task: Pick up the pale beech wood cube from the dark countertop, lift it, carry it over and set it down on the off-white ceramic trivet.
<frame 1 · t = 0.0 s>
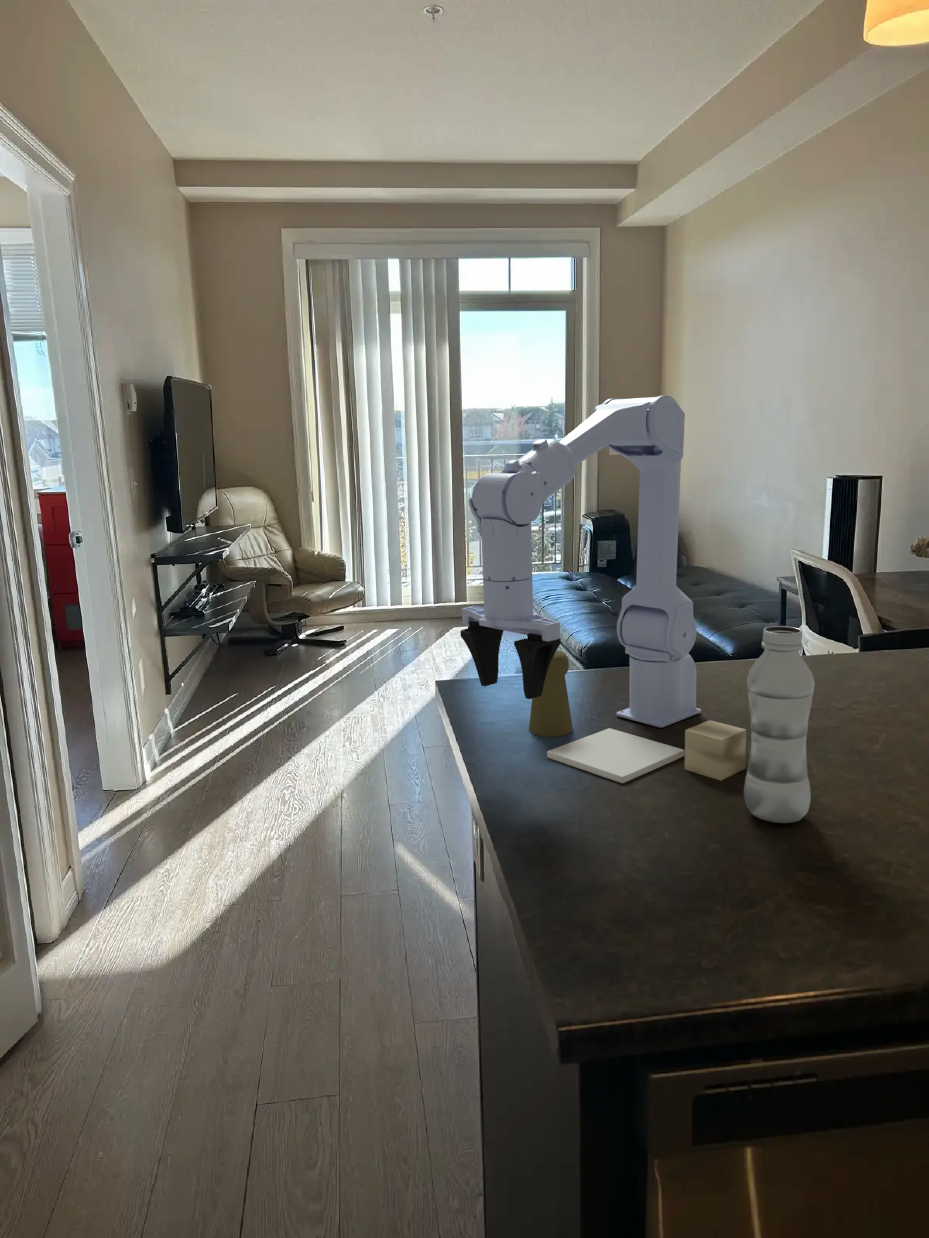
hand: (510, 690, 106), 10 cm above the counter, tool pointing down, fingers open, 7 cm apart
cube: (714, 769, 106), on the counter
cork: (550, 730, 122), on the counter
trivet: (615, 756, 111), on the counter
plastic bottle: (775, 818, 93), on the counter
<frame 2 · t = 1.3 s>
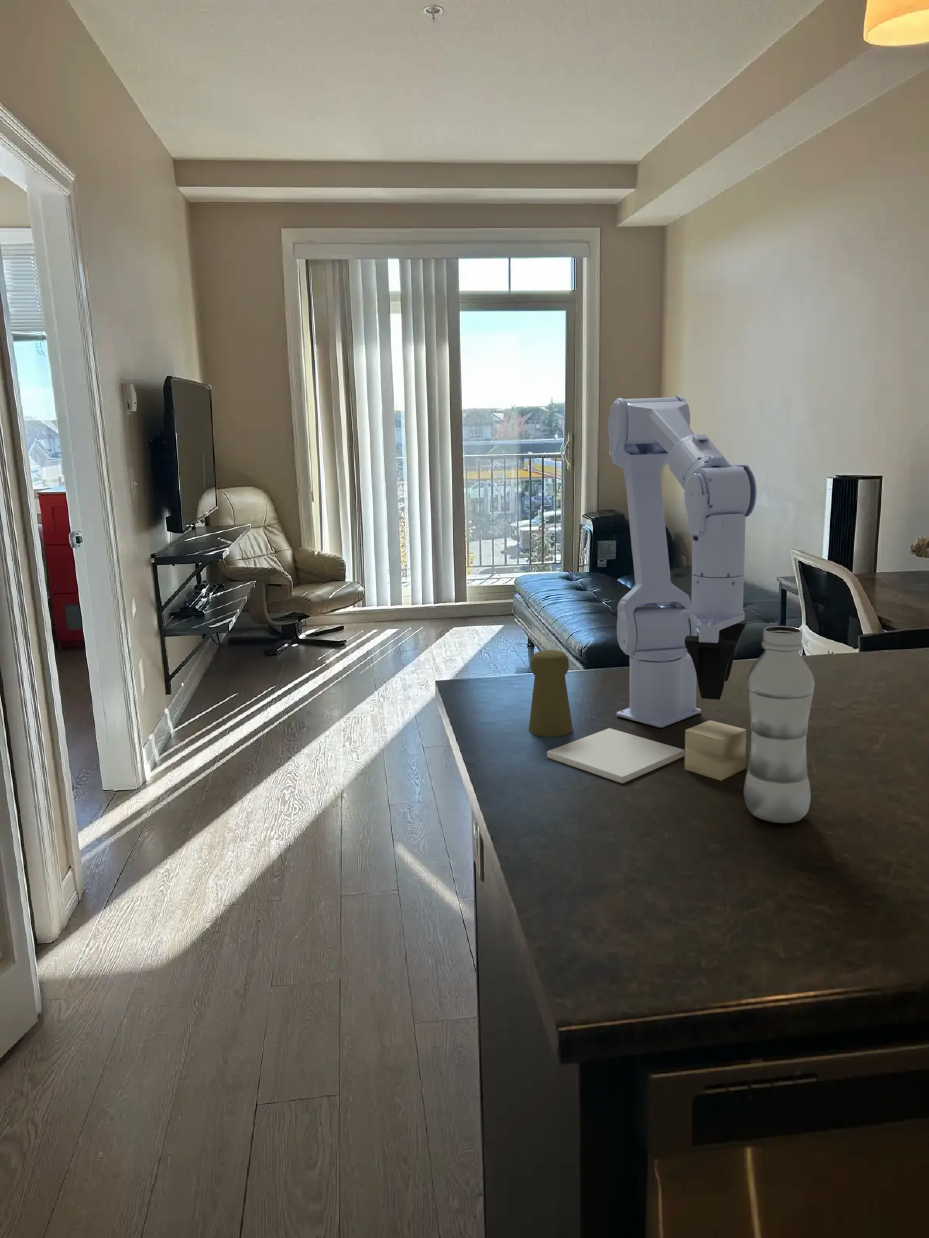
hand: (715, 688, 104), 10 cm above the counter, tool pointing down, fingers open, 7 cm apart
nothing on the counter moved.
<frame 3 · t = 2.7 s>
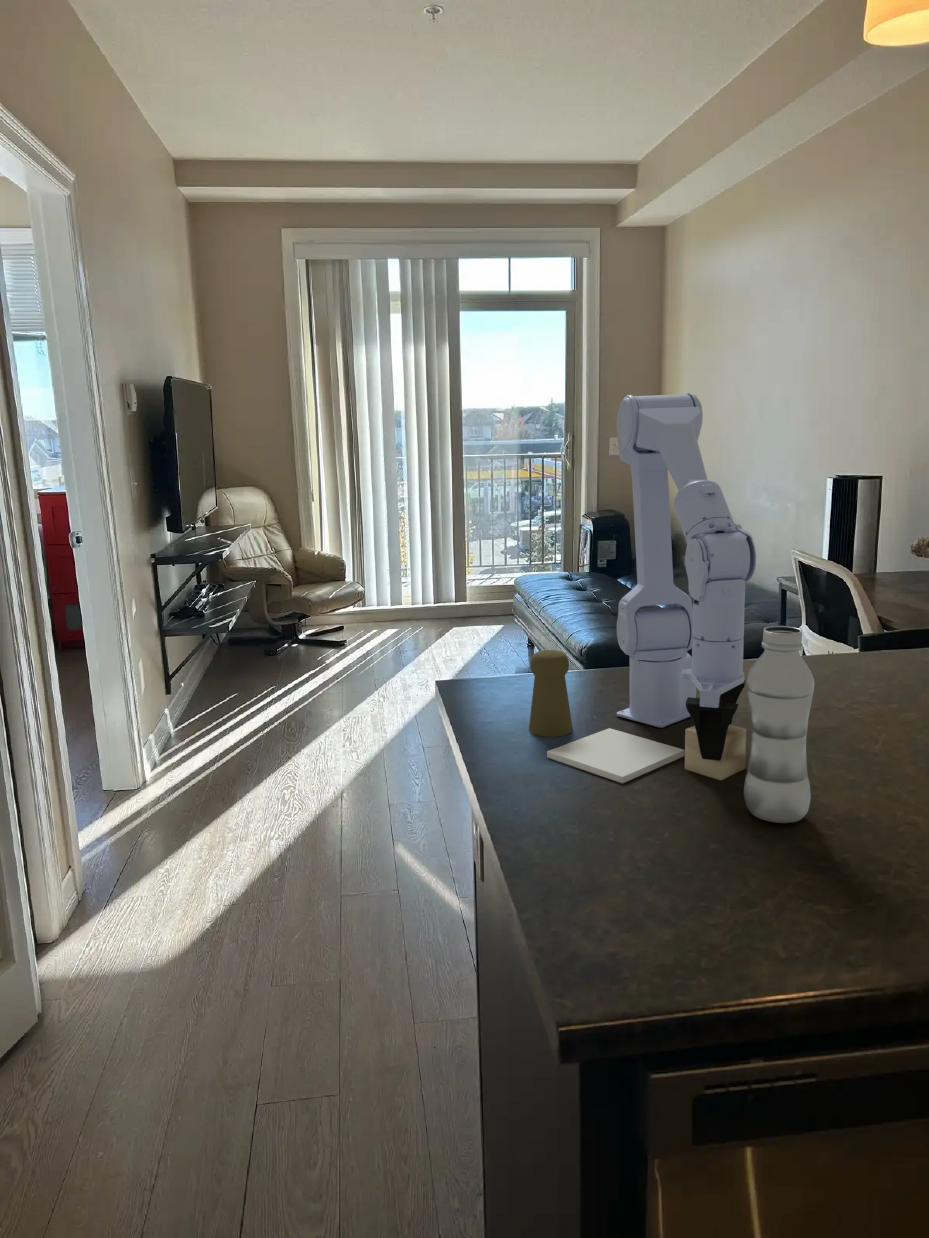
hand: (715, 747, 105), 3 cm above the counter, tool pointing down, fingers closed on cube, 7 cm apart
cube: (714, 768, 106), on the counter, touching gripper
everything else where it was.
when the fingers open (10 cm above the counter, at t = 4.6 s): cube drops 6 cm, resting on trivet.
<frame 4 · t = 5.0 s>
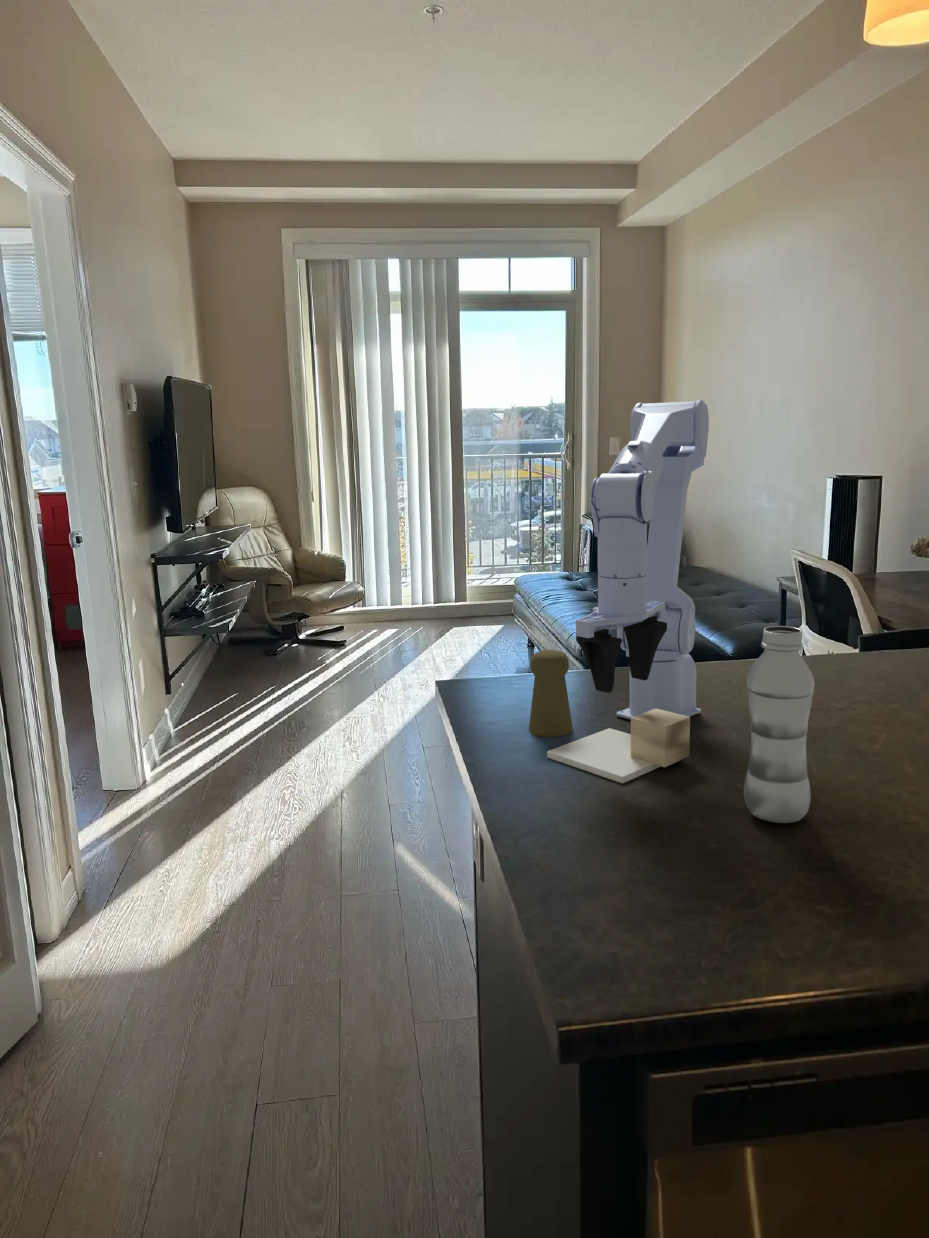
hand: (622, 684, 109), 9 cm above the counter, tool pointing down, fingers open, 6 cm apart
cube: (659, 756, 108), point 1 cm above the counter, touching trivet
everything else where it was.
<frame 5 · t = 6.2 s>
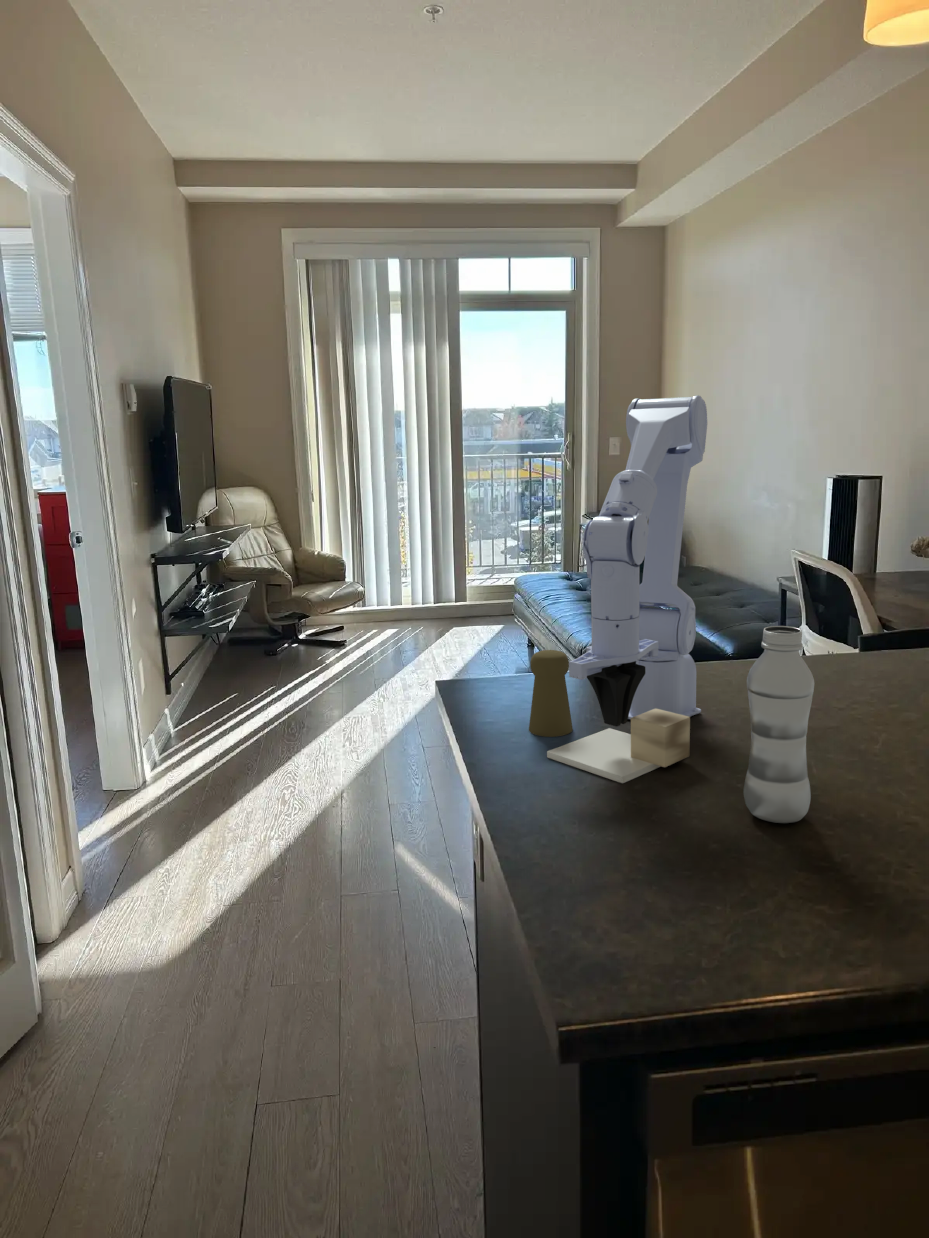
hand: (615, 723, 110), 4 cm above the counter, tool pointing down, fingers closed
nothing on the counter moved.
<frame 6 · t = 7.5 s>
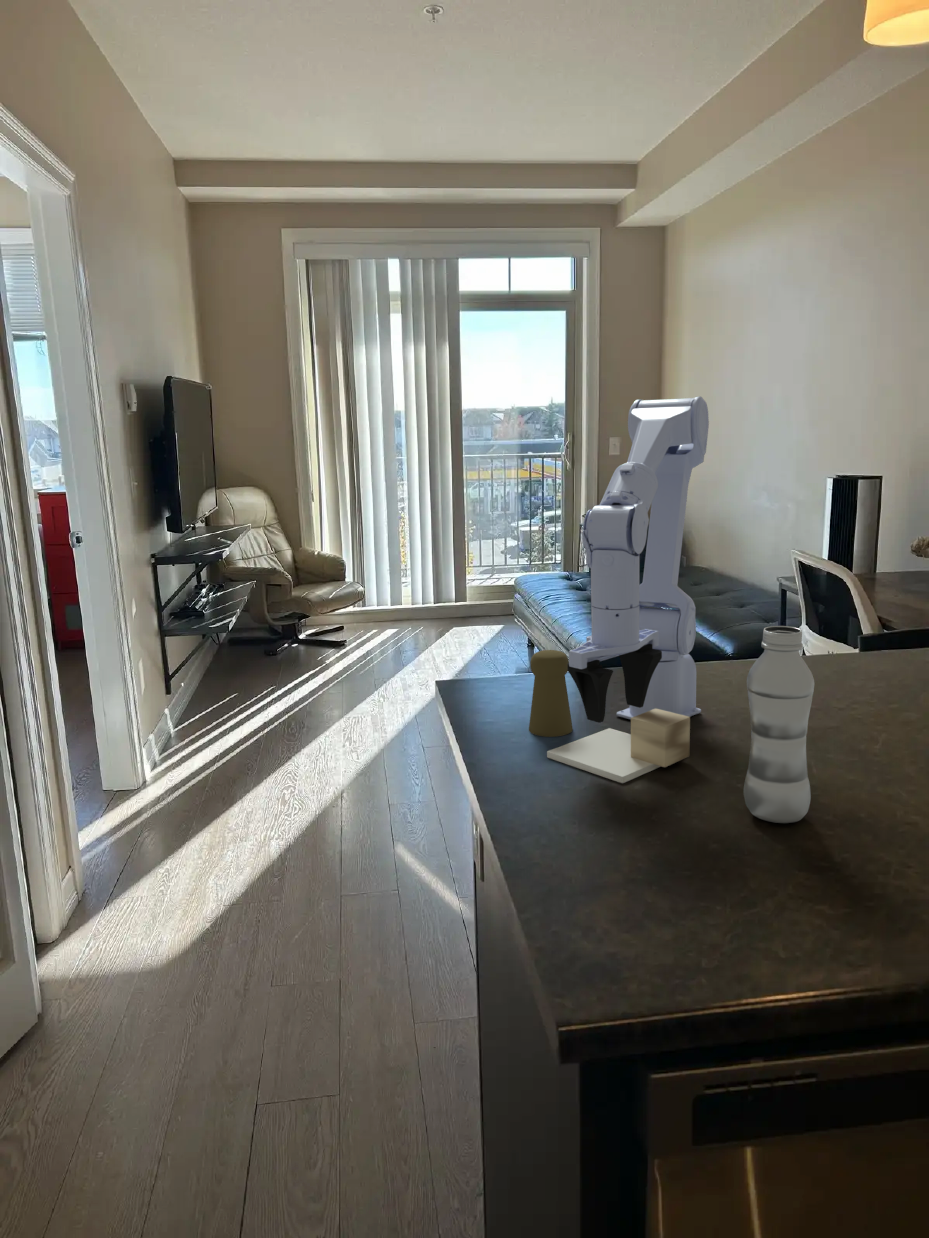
hand: (615, 712, 110), 6 cm above the counter, tool pointing down, fingers open, 7 cm apart
nothing on the counter moved.
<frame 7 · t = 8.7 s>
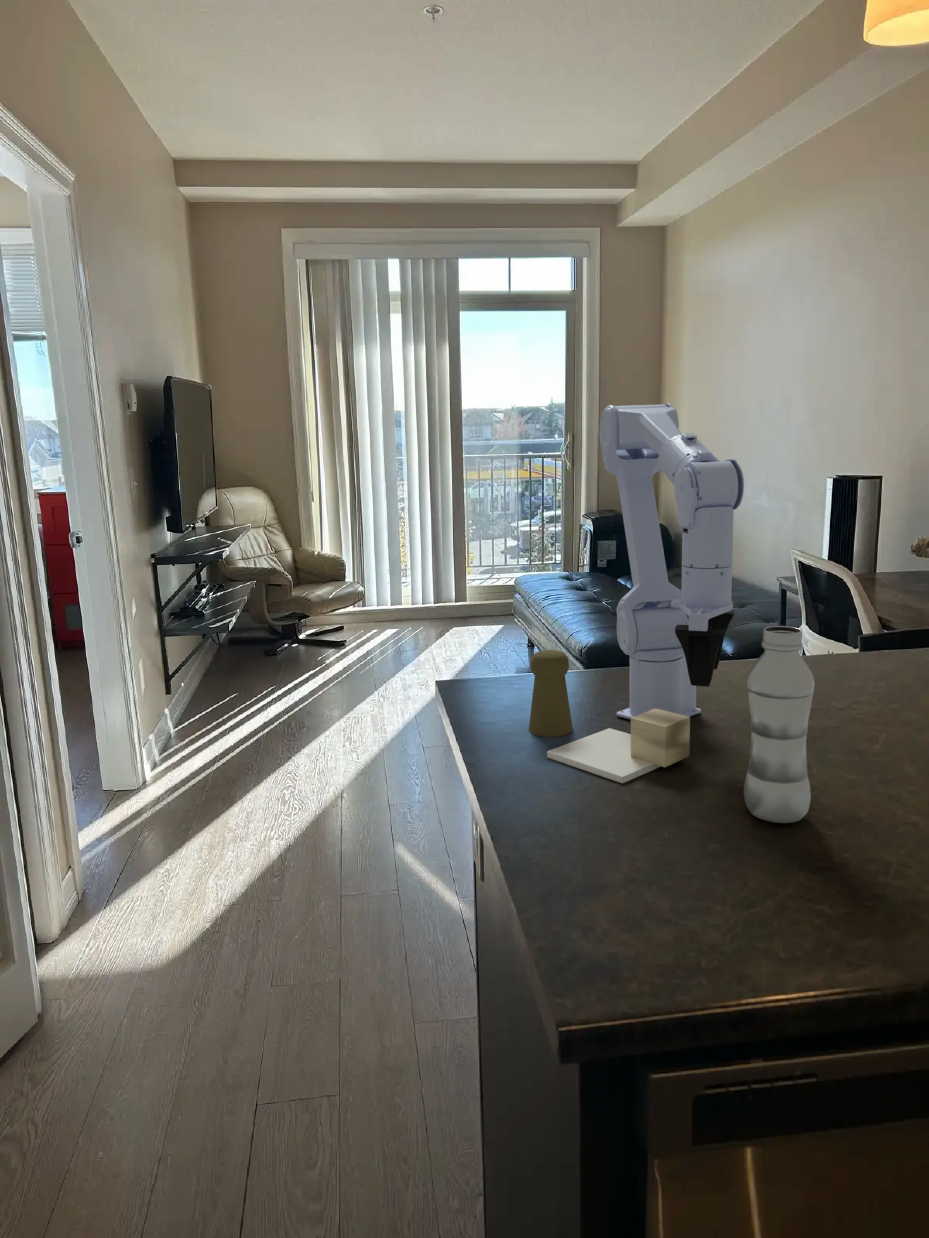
hand: (704, 676, 107), 10 cm above the counter, tool pointing down, fingers open, 7 cm apart
nothing on the counter moved.
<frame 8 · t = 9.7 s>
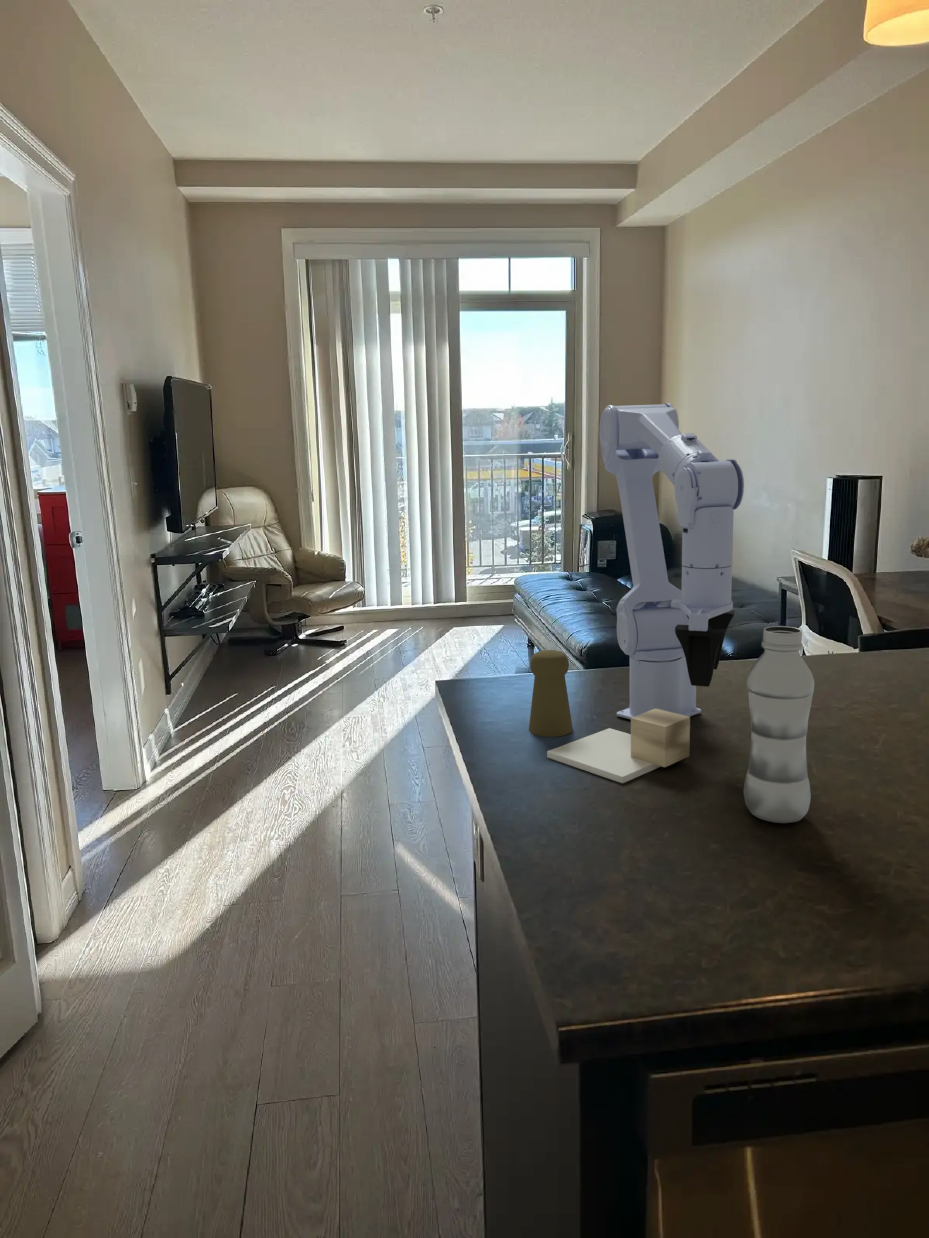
hand: (704, 676, 107), 10 cm above the counter, tool pointing down, fingers open, 7 cm apart
nothing on the counter moved.
at the end: cube inside the target area on the trivet (5.6 cm from its centre), point 0.8 cm above the trivet's base; cube tilted 0°; the gripper is holding nothing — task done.
